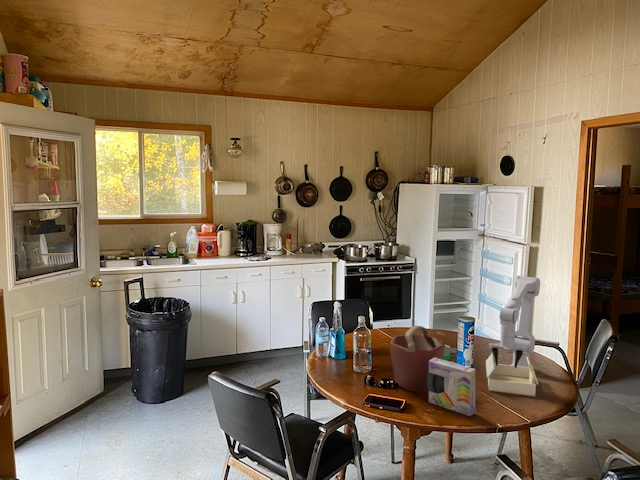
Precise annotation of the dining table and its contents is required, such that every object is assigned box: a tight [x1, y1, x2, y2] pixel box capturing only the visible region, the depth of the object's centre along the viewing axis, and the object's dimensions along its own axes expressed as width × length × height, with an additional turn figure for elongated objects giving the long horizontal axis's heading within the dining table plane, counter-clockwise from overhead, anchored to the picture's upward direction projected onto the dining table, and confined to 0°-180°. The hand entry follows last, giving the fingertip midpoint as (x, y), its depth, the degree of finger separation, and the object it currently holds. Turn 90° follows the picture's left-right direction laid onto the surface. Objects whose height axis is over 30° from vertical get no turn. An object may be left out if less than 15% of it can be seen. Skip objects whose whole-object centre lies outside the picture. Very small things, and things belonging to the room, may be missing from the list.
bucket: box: [389, 325, 445, 392], centre depth 213 cm, size 24×22×25 cm
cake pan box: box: [427, 358, 477, 417], centre depth 191 cm, size 19×5×18 cm, turn 45°
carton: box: [487, 363, 537, 397], centre depth 214 cm, size 20×18×5 cm
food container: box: [439, 340, 458, 363], centre depth 235 cm, size 12×6×10 cm, turn 21°
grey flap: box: [485, 352, 495, 379], centre depth 216 cm, size 20×5×1 cm
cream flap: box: [526, 357, 539, 386], centre depth 211 cm, size 20×5×1 cm
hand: (506, 366), depth 214 cm, fingers open, 7 cm apart
